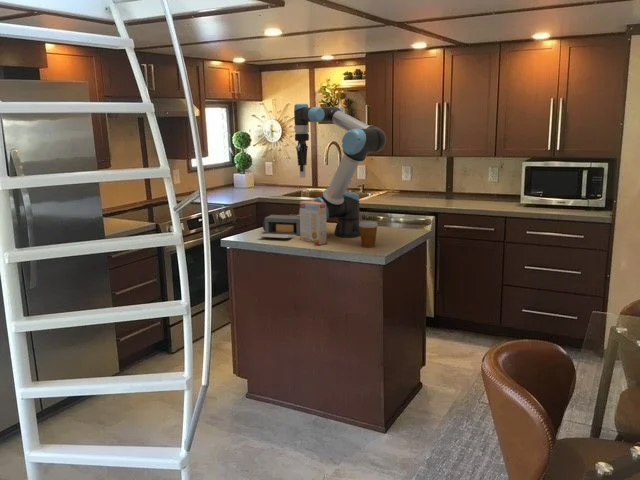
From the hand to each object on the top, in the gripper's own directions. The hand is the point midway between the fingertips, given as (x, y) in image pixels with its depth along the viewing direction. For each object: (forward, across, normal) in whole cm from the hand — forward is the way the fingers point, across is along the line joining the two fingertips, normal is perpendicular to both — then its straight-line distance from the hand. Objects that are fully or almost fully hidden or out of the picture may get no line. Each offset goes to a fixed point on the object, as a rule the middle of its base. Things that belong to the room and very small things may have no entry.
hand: (302, 177), depth 317 cm
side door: (+29, +16, -7) cm, 34 cm away
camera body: (+30, +10, -7) cm, 33 cm away
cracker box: (+31, +25, +13) cm, 42 cm away
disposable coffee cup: (+31, +26, +42) cm, 58 cm away
